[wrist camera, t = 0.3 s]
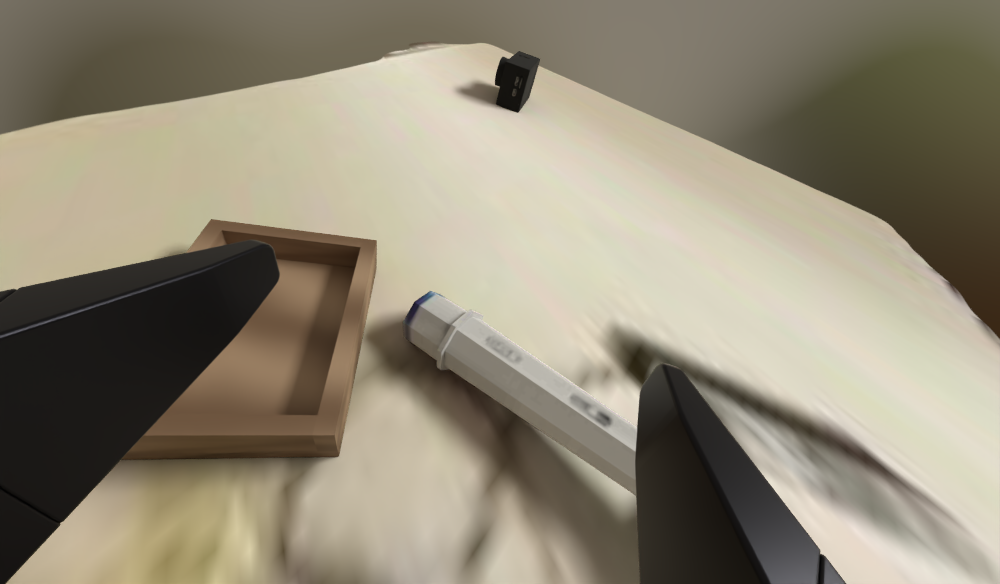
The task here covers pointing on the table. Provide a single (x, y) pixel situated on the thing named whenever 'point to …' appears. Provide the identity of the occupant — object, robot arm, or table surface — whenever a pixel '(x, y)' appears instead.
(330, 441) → the tray
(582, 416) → the white stick
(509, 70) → the digital camera
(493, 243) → the table surface
